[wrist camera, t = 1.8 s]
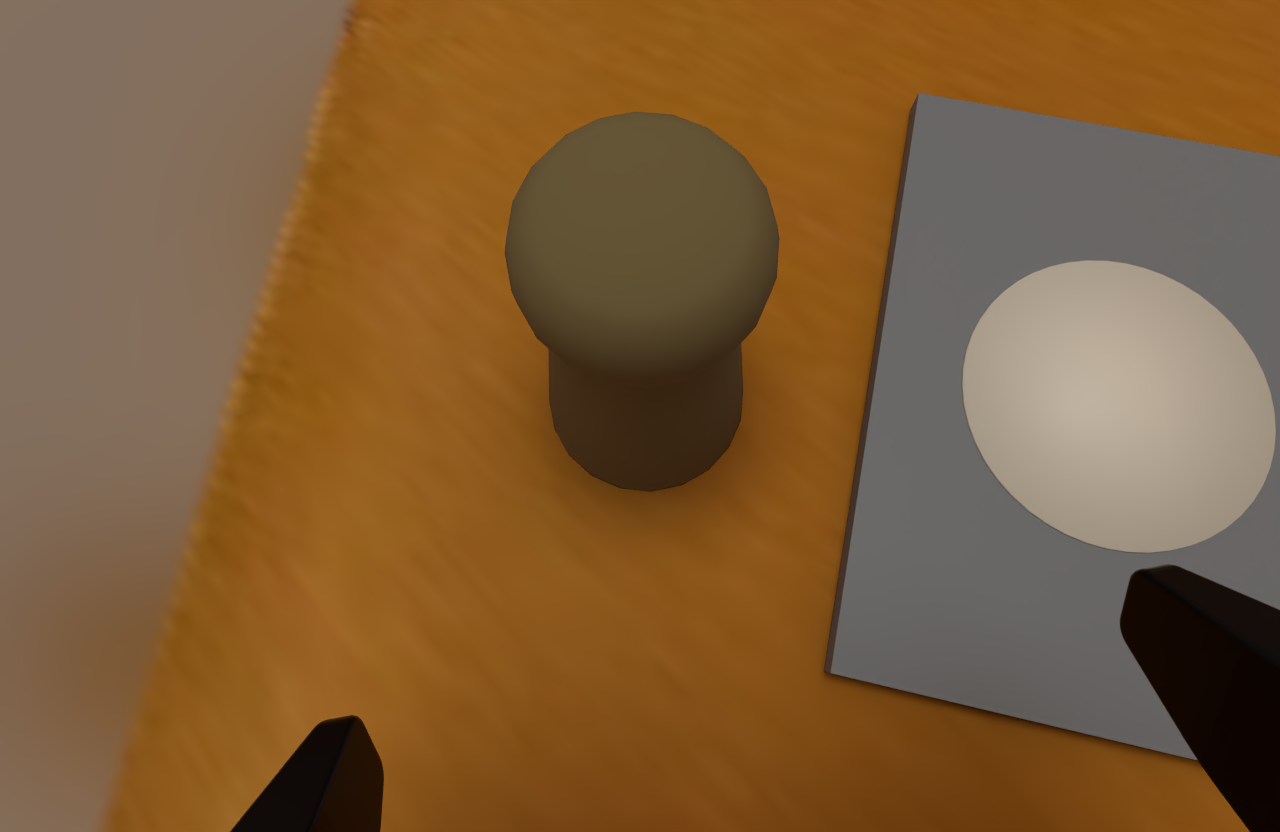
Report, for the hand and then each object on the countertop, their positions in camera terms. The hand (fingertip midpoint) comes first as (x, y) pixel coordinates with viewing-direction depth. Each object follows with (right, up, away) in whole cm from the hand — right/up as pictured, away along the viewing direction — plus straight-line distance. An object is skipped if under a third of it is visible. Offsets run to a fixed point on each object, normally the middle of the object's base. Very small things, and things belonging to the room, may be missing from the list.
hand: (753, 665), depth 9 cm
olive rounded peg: (-1, +3, +15) cm, 15 cm away
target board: (+13, +3, +14) cm, 20 cm away
